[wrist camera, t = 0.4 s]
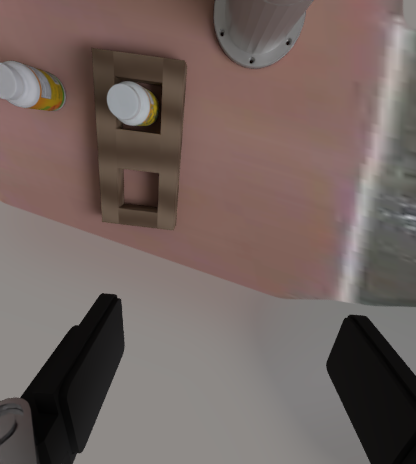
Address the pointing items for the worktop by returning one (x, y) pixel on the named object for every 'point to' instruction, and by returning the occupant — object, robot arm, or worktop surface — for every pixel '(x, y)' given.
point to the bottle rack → (139, 137)
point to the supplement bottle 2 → (133, 104)
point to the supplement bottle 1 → (30, 87)
